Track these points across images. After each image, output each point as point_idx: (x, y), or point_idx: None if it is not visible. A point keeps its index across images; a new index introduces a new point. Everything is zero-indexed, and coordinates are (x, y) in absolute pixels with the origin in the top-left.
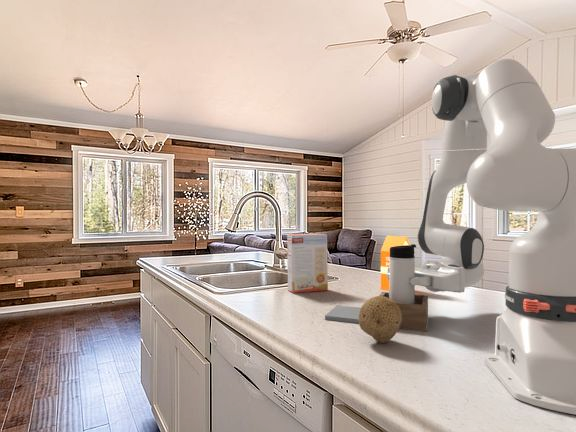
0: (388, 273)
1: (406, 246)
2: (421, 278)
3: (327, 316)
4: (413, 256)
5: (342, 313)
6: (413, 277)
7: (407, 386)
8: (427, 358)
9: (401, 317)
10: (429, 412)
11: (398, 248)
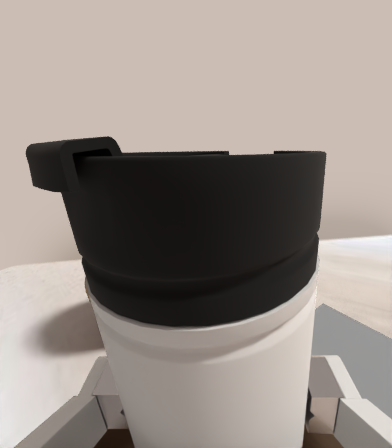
0: (331, 355)
1: (231, 173)
2: (56, 415)
3: (318, 307)
4: (84, 260)
5: (340, 343)
6: (111, 375)
7: (51, 277)
8: (40, 336)
9: (86, 291)
10: (23, 268)
11: (156, 155)
